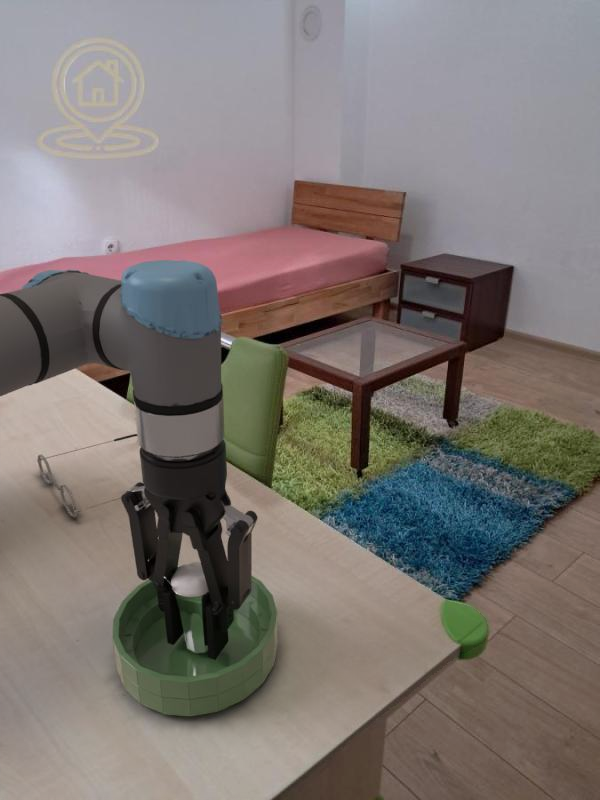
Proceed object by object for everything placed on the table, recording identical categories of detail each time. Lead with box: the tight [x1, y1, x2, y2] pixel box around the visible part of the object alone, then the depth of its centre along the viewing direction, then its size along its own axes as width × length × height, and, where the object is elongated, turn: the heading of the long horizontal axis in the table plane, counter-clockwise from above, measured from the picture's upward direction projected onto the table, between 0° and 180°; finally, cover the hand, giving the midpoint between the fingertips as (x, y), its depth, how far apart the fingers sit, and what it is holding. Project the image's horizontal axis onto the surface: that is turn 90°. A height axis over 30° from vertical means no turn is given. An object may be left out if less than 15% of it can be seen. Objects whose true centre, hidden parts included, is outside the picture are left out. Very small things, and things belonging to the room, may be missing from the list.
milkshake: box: [164, 561, 211, 653], centre depth 63 cm, size 5×5×10 cm
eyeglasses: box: [36, 433, 137, 518], centre depth 97 cm, size 18×19×4 cm
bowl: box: [111, 566, 278, 717], centre depth 65 cm, size 16×16×5 cm
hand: (198, 641), depth 65 cm, fingers closed on milkshake, 4 cm apart
